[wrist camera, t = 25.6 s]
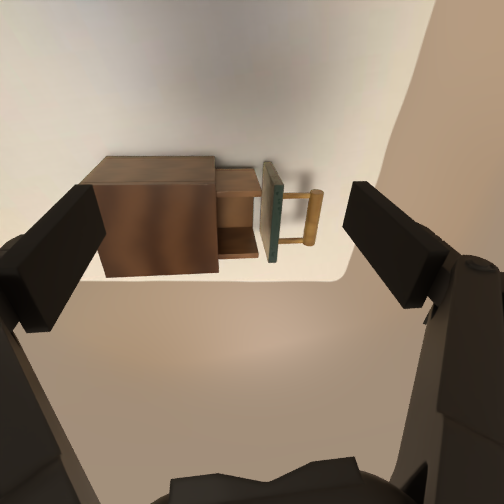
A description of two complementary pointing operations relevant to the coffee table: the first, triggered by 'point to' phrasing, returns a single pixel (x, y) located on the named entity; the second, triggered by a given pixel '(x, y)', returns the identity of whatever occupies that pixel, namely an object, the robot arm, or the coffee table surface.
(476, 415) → the robot arm
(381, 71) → the coffee table surface
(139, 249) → the cabinet
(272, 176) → the drawer
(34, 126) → the coffee table surface
